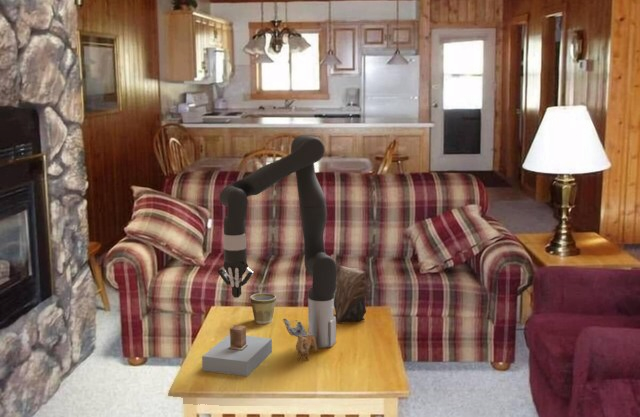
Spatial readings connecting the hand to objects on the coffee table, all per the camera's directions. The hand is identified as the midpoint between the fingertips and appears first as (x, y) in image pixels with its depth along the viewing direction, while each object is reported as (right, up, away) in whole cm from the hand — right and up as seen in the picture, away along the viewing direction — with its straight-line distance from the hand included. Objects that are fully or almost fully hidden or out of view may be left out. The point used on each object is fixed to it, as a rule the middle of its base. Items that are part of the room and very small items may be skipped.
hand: (236, 296), depth 263 cm
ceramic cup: (+6, -14, +46) cm, 48 cm away
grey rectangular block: (0, -22, +4) cm, 23 cm away
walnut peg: (0, -22, +4) cm, 23 cm away
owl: (+38, -14, +47) cm, 62 cm away
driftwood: (+19, -17, +36) cm, 44 cm away
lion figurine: (+24, -22, +7) cm, 33 cm away
